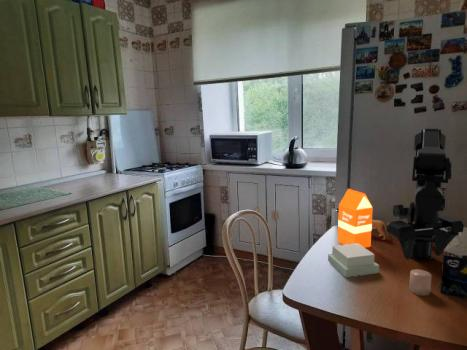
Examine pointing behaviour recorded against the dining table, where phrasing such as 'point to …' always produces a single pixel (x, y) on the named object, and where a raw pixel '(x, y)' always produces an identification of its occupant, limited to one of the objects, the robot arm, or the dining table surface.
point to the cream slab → (353, 255)
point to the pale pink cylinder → (420, 282)
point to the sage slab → (353, 268)
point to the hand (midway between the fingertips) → (422, 257)
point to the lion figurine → (380, 228)
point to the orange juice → (355, 219)
